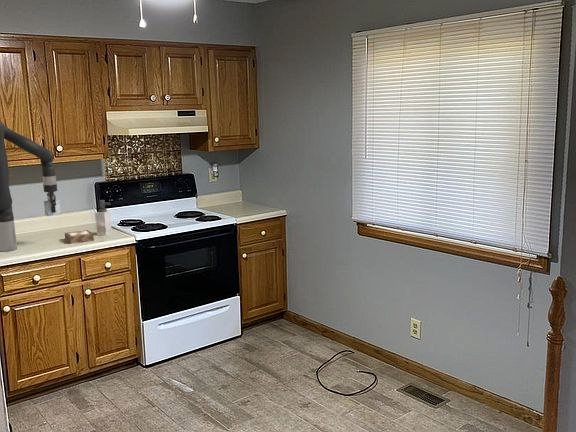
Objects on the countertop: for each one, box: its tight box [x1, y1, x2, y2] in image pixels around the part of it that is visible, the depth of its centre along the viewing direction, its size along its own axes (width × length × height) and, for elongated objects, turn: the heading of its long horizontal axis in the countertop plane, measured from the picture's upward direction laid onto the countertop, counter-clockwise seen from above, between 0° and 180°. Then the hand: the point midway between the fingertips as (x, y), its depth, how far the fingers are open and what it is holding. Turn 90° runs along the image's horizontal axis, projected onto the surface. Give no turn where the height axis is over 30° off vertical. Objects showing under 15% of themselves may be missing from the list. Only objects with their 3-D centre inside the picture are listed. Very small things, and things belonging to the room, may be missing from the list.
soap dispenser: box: [95, 199, 113, 236], centre depth 369 cm, size 6×9×22 cm
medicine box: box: [43, 199, 62, 217], centre depth 346 cm, size 8×4×9 cm, turn 140°
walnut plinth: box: [64, 229, 95, 245], centre depth 357 cm, size 14×14×4 cm
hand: (52, 211), depth 346 cm, fingers closed on medicine box, 5 cm apart
